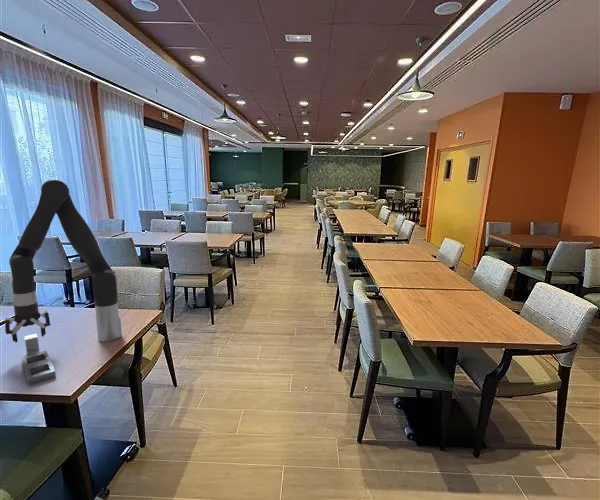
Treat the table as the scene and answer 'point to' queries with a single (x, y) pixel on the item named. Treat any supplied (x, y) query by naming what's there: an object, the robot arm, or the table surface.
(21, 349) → the table surface
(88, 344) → the table surface
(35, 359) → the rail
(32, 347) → the steel peg
